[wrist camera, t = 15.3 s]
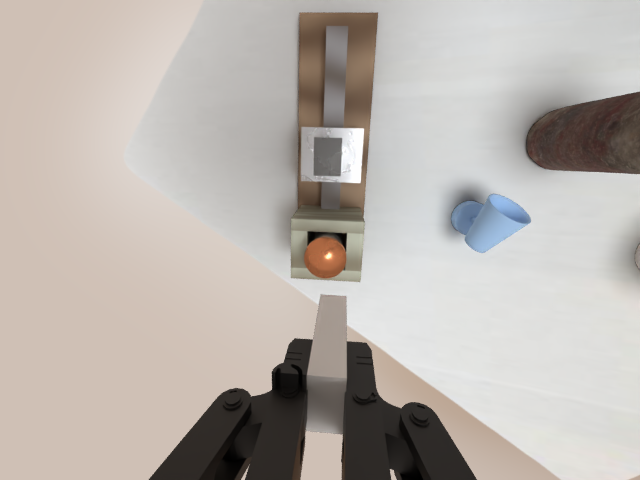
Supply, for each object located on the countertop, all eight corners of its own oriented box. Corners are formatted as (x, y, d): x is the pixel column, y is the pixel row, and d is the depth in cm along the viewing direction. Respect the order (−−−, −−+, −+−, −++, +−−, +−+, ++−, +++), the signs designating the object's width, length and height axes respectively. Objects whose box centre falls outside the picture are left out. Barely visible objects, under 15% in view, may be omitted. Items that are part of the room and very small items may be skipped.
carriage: (304, 128, 36) (287, 118, 25) (362, 130, 36) (371, 120, 25) (303, 179, 38) (287, 190, 27) (359, 181, 38) (365, 193, 27)
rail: (300, 16, 36) (285, -32, 27) (376, 17, 36) (389, -32, 26) (298, 253, 45) (286, 281, 35) (359, 256, 44) (364, 286, 35)
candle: (577, 93, 36) (840, 29, 17) (598, 147, 38) (862, 144, 19) (515, 130, 38) (691, 108, 19) (538, 180, 39) (722, 208, 20)
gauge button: (311, 220, 38) (304, 237, 31) (346, 222, 38) (347, 239, 30) (311, 253, 39) (303, 277, 32) (344, 255, 39) (345, 279, 32)
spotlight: (466, 183, 40) (441, 229, 42) (505, 193, 31) (469, 252, 33) (499, 197, 40) (473, 243, 42) (548, 212, 31) (511, 270, 33)
